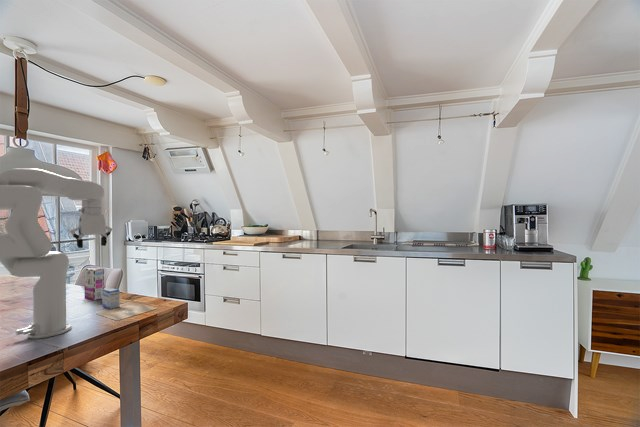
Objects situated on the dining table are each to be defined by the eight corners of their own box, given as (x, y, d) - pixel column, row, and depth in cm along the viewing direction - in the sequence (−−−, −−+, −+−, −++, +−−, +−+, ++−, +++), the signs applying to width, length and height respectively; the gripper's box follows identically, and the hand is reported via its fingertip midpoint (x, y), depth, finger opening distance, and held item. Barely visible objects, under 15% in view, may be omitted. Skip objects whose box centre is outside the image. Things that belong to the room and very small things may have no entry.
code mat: (116, 320, 128) (116, 320, 128) (96, 314, 136) (96, 313, 136) (157, 308, 143) (157, 308, 143) (136, 303, 152) (136, 302, 152)
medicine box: (102, 306, 147) (101, 289, 147) (112, 304, 151) (111, 287, 151) (109, 309, 143) (109, 291, 143) (120, 306, 147) (119, 289, 147)
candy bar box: (104, 298, 161) (104, 268, 161) (94, 301, 157) (93, 270, 157) (94, 295, 167) (94, 266, 167) (84, 298, 162) (83, 268, 162)
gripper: (73, 211, 134) (74, 249, 134) (115, 211, 149) (115, 245, 149) (66, 211, 138) (66, 248, 138) (107, 211, 153) (108, 244, 153)
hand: (92, 246), depth 144 cm, fingers open, 9 cm apart
